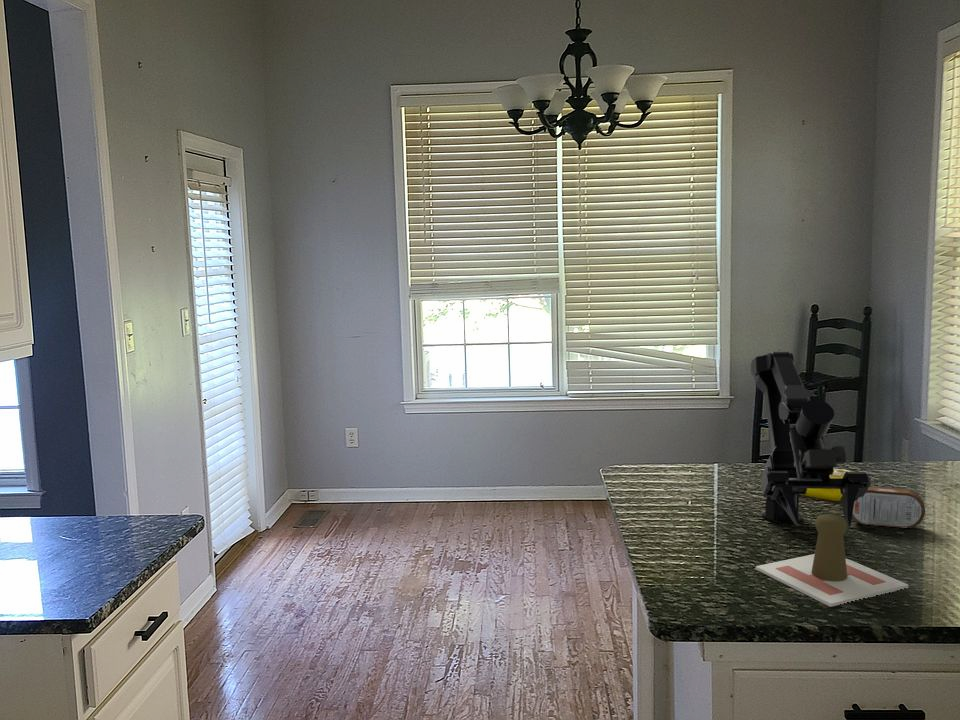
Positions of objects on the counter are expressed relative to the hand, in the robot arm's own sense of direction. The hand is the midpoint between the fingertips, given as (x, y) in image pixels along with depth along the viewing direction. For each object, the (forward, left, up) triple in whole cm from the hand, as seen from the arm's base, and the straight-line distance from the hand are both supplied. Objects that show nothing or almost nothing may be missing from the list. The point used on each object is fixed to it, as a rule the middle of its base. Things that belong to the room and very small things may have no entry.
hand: (823, 525), depth 152 cm
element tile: (-38, -38, -9) cm, 55 cm away
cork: (+2, +4, -8) cm, 9 cm away
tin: (-30, -12, -9) cm, 33 cm away
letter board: (+2, +4, -8) cm, 10 cm away
